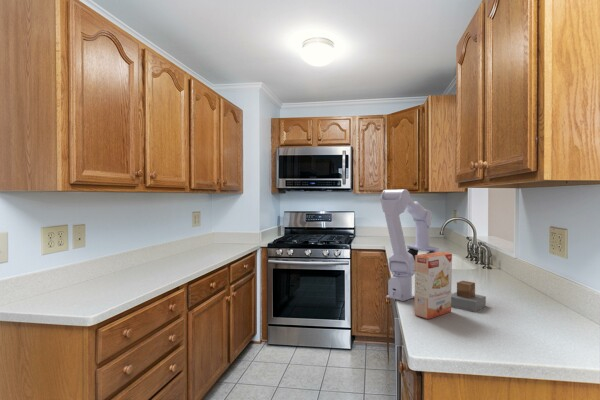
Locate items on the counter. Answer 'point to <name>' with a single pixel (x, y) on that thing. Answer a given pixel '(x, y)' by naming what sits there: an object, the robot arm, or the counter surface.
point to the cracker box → (433, 284)
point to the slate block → (468, 302)
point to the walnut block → (466, 289)
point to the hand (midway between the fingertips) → (422, 267)
